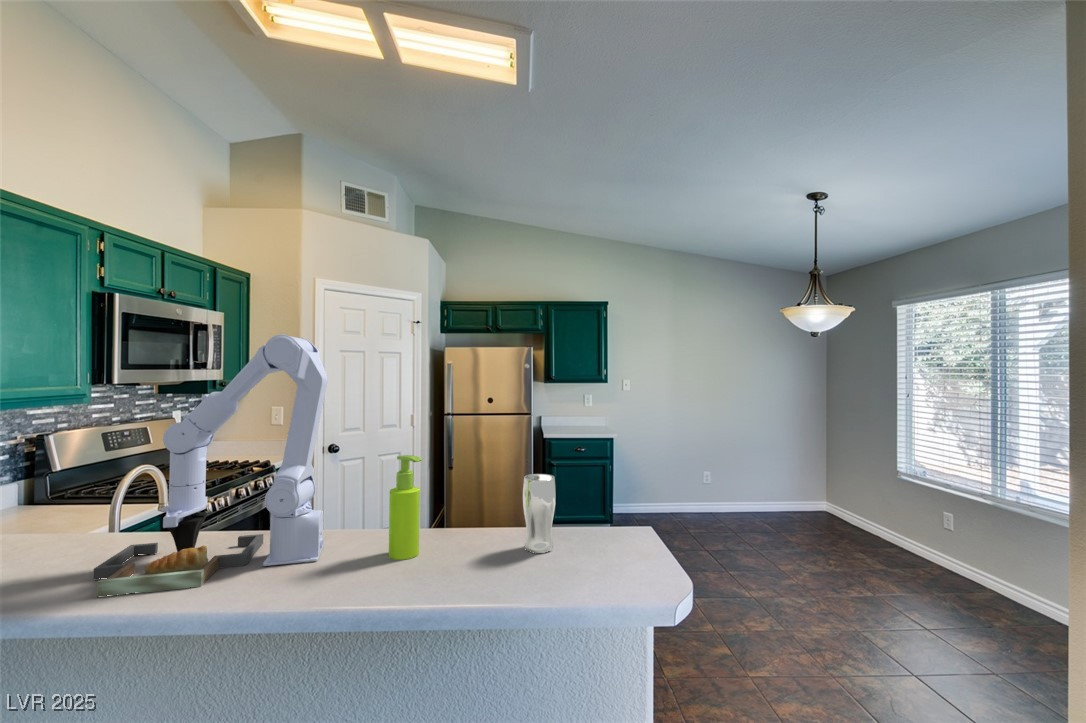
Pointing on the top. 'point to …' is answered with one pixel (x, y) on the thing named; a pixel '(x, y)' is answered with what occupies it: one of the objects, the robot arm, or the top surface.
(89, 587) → the top surface
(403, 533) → the soap dispenser
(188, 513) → the robot arm
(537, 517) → the beer glass
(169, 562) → the pastry
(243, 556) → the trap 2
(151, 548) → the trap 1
